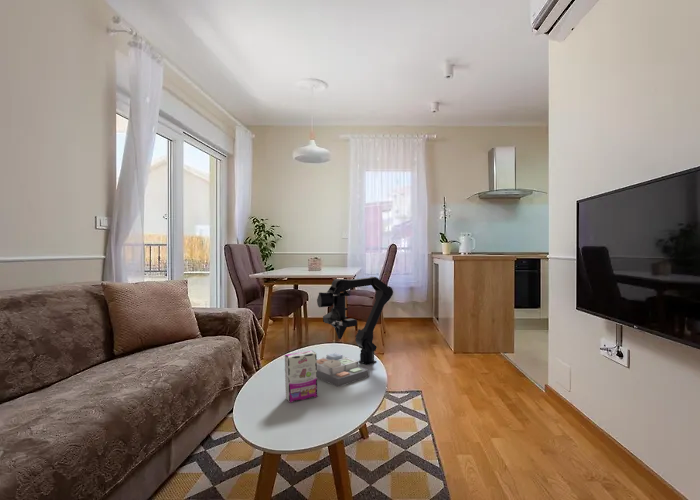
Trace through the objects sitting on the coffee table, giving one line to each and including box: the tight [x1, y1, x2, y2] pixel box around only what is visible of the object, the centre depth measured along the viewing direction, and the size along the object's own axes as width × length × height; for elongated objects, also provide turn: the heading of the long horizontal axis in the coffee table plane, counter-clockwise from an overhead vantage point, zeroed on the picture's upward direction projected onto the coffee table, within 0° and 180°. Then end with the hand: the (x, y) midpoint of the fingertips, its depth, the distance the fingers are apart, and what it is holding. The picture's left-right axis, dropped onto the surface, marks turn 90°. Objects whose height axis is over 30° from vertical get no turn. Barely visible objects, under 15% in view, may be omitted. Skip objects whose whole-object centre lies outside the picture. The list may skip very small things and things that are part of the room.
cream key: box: [324, 359, 341, 368], centre depth 158 cm, size 5×5×2 cm
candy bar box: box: [284, 350, 318, 403], centre depth 137 cm, size 11×5×16 cm, turn 117°
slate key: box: [326, 352, 344, 360], centre depth 168 cm, size 5×5×2 cm
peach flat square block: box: [317, 359, 328, 364], centre depth 163 cm, size 5×5×2 cm
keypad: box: [317, 356, 370, 387], centre depth 161 cm, size 17×22×6 cm
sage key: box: [339, 359, 353, 364], centre depth 163 cm, size 5×5×2 cm
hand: (339, 339), depth 173 cm, fingers closed
